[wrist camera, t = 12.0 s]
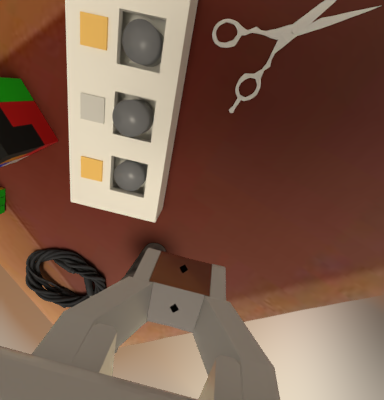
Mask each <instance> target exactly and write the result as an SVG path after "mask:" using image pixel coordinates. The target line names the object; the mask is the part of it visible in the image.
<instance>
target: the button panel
mask: <svg viewBox="0 0 384 400" xmlns="http://www.w3.org/2000/svg"><path fill="white" fill-rule="evenodd" d="M197 4H198V0H65V11H66V48H67V84H68V121H69V157H70V194H71V202H74V203H78V204H82V205H86V206H90V207H94V208H98V209H102V210H106V211H110V212H114V213H118V214H122V215H126V216H130V217H134V218H138V219H142V220H146V221H151V222H156V220H157V218H158V216H159V215H160V213H161V211H162V209H163V204H164V198H165V192H166V186H167V181H168V175H169V169H170V163H171V157H172V151H173V145H174V139H175V134H176V128H177V122H178V116H179V110H180V104H181V98H182V92H183V86H184V81H185V75H186V69H187V63H188V57H189V51H190V45H191V39H192V34H193V28H194V22H195V16H196V10H197ZM135 19H144V20H146V21H148V22H150V23H151V24H152V25H153V26H154V27H155V28H156V29H157V30H158V31H159V32H160V33H161V34H162V35H163V37H164V42H163V50H162V58H161V63H160V64H158V65H157V66H154V67H147V66H144V65H141V64H138V63H135V62H133V61H132V60H131V59H130V58H129V57H128V56H127V55H126V53H125V51H124V48H123V44H122V36H123V32H124V29H125V27H126V26H127V24H128V23H129V22H131V21H132V20H135ZM133 99H139V100H143V101H145V102H146V103H147V104H149V106H150V107H151V109H152V111H153V114H154V121H153V125H152V127H151V128H150V129H149V130H148V131H146V132H144V133H142V134H140V135H138V136H135V137H128V136H125V135H123V134H121V133H120V132H119V131H118V130H117V129H116V127H115V125H114V123H113V118H112V114H113V110H114V108H115V106H116V105H117V104H118V103H119V102H121V101H123V100H133ZM127 159H128V160H132V161H136V162H140V163H144V164H148V169H147V177H146V181H145V182H144V183H143V184H142V185H141V187H140V188H139V189H137V190H135V191H127V190H124V189H122V188H121V187H119V186H118V184H117V183H116V181H115V178H114V171H115V169H116V167H117V166H118V165H119V164H121V163H122V162H124V161H125V160H127Z"/></svg>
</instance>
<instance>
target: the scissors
mask: <svg viewBox="0 0 384 400" xmlns="http://www.w3.org/2000/svg"><path fill="white" fill-rule="evenodd" d="M335 1H336V0H325V1H323V2H322V3H320V4H319V5H318V6H316V7H315V8H314V9H312V10H311V11H310V12H308V13H307V14H306V15H304V16H303V17H302V18H300V19H299V20H298V21H296V22H295V23H294V24H291V25H287V26H284V27H281V28H278V29H273V30H268V31H263V30H260V29H259V28H258V27H255V28H252V29H250V30H246V29H245V28H244V27H242V26H241V25H240V24H239V23H238V22H237V21H235V20H232V19H223V20H222V21H220V22H218V23H217V24H216V25H215V27H214V29H213V32H212V38H213V40H214V43H215V44H216V45H218V46H219V47H224V48H229V47H234V46H235V45H236V43H237V42H238V40H239V39H240V37H241V36H242V35H243V36H245V35H247V34H250V33H256V34H261V35H264V36H267V37H269V38H271V39H275V40H278V41H277V43H276V45H275V47H274V49H273V51H272V53H271V55H270V57H269V59H268V61H267V63H266V65H265V66H264V67H263V68H262V69H261V70H259V71H258V72H256V73H255V74H247V73H245V74H244V75H243V76H242V77H241V78H240V79H239V81H238V83H237V85H236V89H235V91H236V95H237V100H236V101H235V103H234V105H233V106H232V107H231V108H230V109H229V112H230V113H233V112H234V110H235V108H236V106H237V105H238V104H239V102H240V101H241V100H242V101H246V100H250V99H252V98H253V97H255V96H256V95H257V93H258V92H259V89H260V86H261V77H262V74H263V72H264V70H266V69H267V68H269V67H270V65H271V60H272V58H273V56H274V54H275V53H276V52H277V51H279V50H280V49H281V48H282V47H284V46H285V45H286V44H287V43H289V42H290V41H291V40H292V39H294V38H295V37H296V36H299V35H302V34H305V33H308V32H311V31H315V30H318V29H321V28H324V27H327V26H330V25H332V24H335V23H338V22H340V21H343V20H346V19H348V18H351V17H354V16H357V15H360V14H362V13H365V12H368V11H370V10H373V9H375V8H377V7H380V6H377V7H372V8H367V9H362V10H357V11H352V12H347V13H343V14H339V15H335V16H330V17H324V18H321V19H319V20H317V21H315V22H313V21H314V20H315V19H316V18H317V17H319V16H320V15H321V14H322V13H323V12H324V11H325V10H326V9H327V8H329V7H330V6H331V5H332V4H333V3H334V2H335ZM226 22H227V23H231V24H233V25H235V26H236V29H237V31H238V32H237V35H236V37H235V38H234V40H232V41H229V42H226V43H223V42H219V41H218V40H217V37H216V31H217V29H218V27H219V26H220V25H222V24H224V23H226ZM312 22H313V23H312ZM248 78H253V79H255V80H256V83H257V87H256V90H255V91H254V93H253V94H251V95H249V96H247V97H243V96H241V95H240V93H239V86H240V84H241V83H242V82H243V81H244V80H246V79H248Z"/></svg>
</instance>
